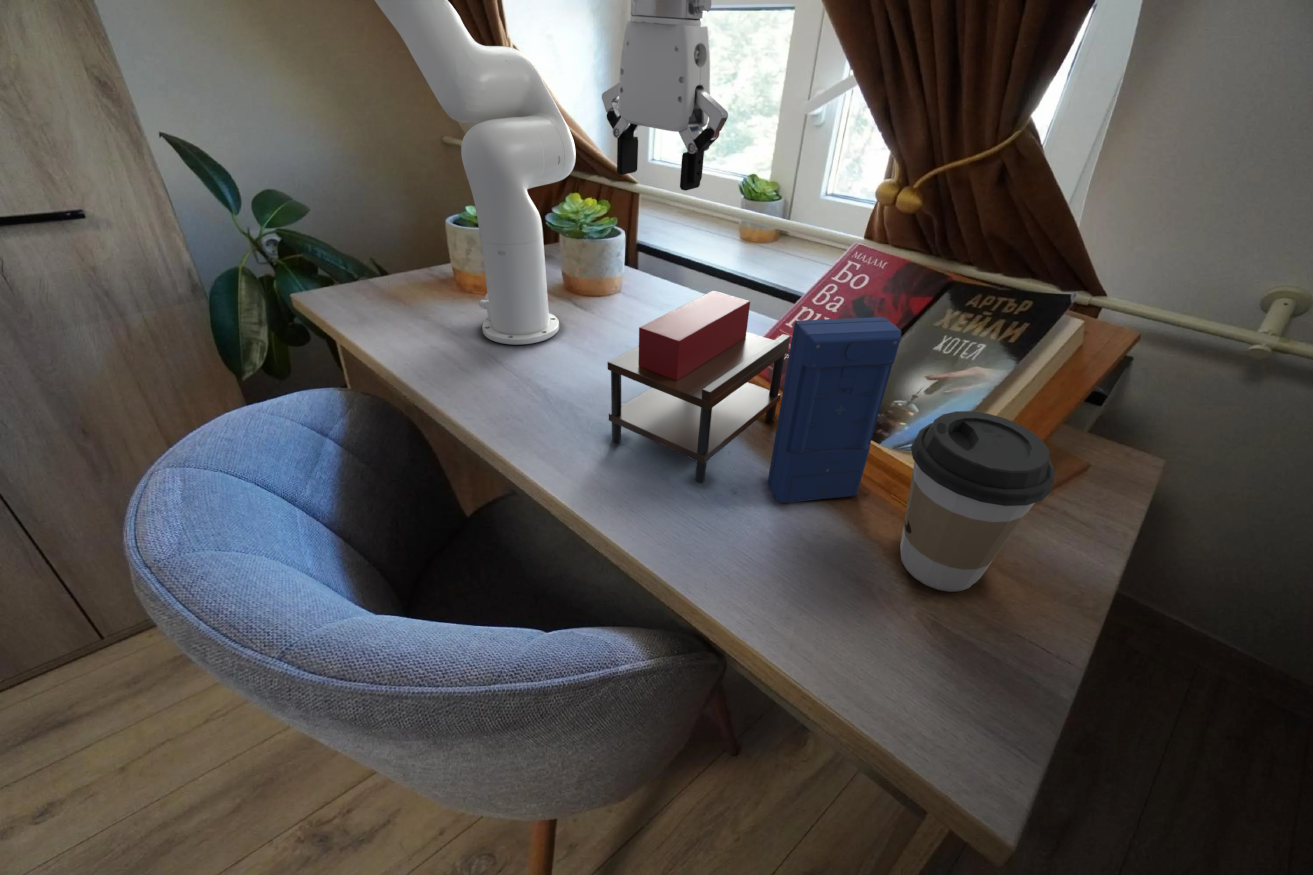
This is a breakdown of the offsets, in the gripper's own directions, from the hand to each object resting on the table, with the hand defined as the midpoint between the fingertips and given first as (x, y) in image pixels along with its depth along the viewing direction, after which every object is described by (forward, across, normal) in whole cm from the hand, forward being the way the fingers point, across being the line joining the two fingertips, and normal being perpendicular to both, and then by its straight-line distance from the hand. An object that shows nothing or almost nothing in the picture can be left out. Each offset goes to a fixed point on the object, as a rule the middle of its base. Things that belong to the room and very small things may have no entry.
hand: (657, 180), depth 73 cm
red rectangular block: (+16, -12, +6) cm, 21 cm away
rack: (+27, -13, +6) cm, 31 cm away
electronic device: (+27, -30, +8) cm, 41 cm away
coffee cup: (+26, -45, +10) cm, 53 cm away
